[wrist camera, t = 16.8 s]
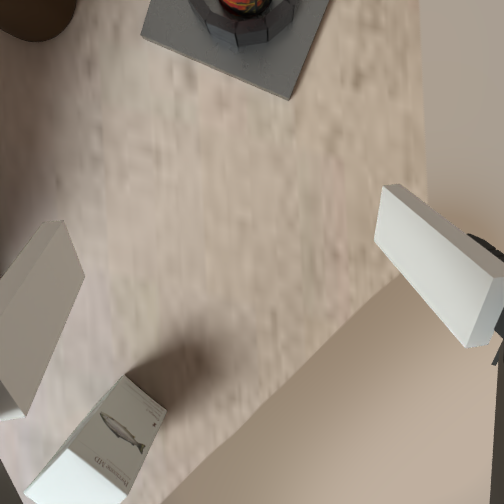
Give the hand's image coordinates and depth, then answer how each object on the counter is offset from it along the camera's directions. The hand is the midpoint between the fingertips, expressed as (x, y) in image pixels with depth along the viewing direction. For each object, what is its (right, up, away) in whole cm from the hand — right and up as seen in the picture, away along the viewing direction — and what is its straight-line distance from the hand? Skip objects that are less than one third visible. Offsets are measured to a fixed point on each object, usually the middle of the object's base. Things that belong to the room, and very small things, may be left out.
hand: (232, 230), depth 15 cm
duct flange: (0, +25, +20) cm, 32 cm away
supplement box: (-15, -21, +30) cm, 39 cm away
